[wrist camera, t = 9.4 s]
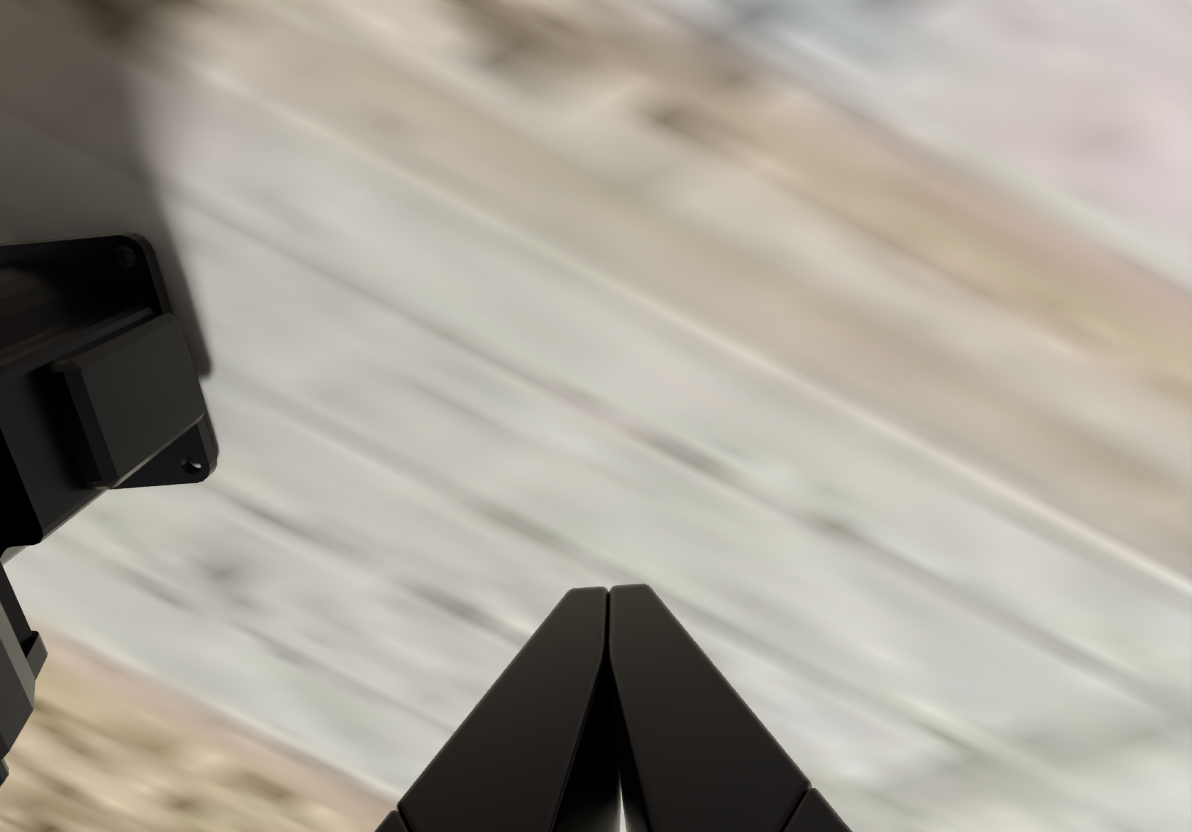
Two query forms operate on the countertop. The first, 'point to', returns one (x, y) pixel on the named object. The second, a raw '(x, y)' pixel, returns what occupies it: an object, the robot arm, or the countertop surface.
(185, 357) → the robot arm
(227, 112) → the countertop surface
